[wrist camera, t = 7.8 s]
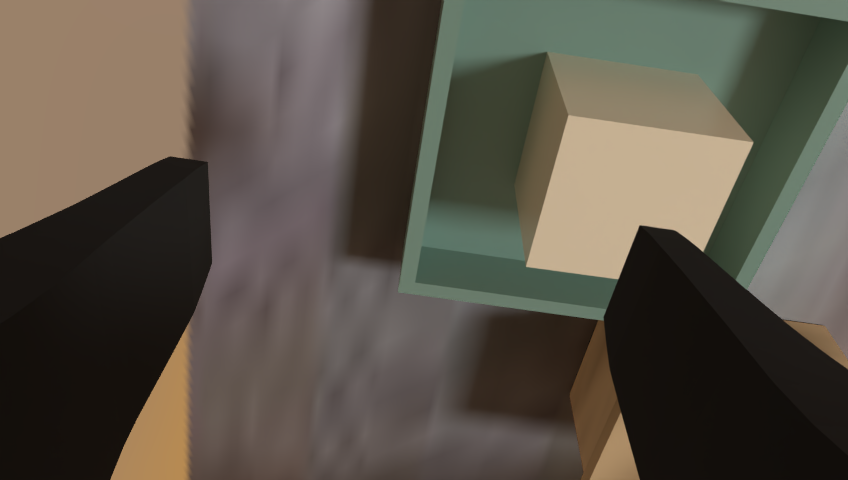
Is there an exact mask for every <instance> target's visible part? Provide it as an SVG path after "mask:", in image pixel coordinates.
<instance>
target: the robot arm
mask: <svg viewBox="0 0 848 480" xmlns="http://www.w3.org/2000/svg"><path fill="white" fill-rule="evenodd" d="M211 264H212V251H211V228H210V205H209V182H208V162H204V161H197V160H191V159H184V158H176V157H168V158H165V159H163V160H160V161H158V162H156V163H154V164H152V165H150V166H148V167H146V168H144V169H142V170H140V171H138V172H136V173H134V174H132V175H131V176H129V177H127V178H125V179H123V180H121V181H119V182H117V183H116V184H113V185H111V186H110V187H108V188H106V189H104V190H102V191H100V192H98V193H96V194H94V195H92V196H90V197H88V198H86V199H84V200H82V201H80V202H79V203H76V204H74V205H73V206H70V207H68V208H66V209H64V210H62V211H59V212H57V213H55V214H53V215H51V216H49V217H47V218H44V219H42V220H40V221H38V222H35V223H33V224H31V225H29V226H27V227H25V228H22V229H20V230H18V231H16V232H14V233H11V234H9V235H6V236H4V237H2V238H0V480H110V479H111V476H112V474H113V471H114V469H115V466H116V464H117V461H118V459H119V456H120V454H121V451H122V449H123V447H124V444H125V442H126V440H127V438H128V436H129V434H130V432H131V430H132V428H133V426H134V424H135V421H136V420H137V418H138V416H139V414H140V412H141V410H142V409H143V406H144V405H145V403H146V401H147V399H148V397H149V396H150V394H151V392H152V390H153V388H154V386H155V385H156V383H157V381H158V379H159V377H160V375H161V373H162V371H163V370H164V368H165V366H166V364H167V362H168V360H169V359H170V357H171V355H172V353H173V351H174V349H175V348H176V345H177V344H178V342H179V340H180V338H181V336H182V334H183V333H184V331H185V329H186V327H187V325H188V323H189V321H190V319H191V317H192V315H193V313H194V311H195V309H196V306H197V303H198V301H199V298H200V295H201V293H202V290H203V287H204V284H205V281H206V279H207V276H208V273H209V270H210V267H211ZM603 318H604V328H605V337H606V347H607V354H608V361H609V368H610V372H611V376H612V380H613V384H614V388H615V392H616V395H617V399H618V403H619V407H620V410H621V414H622V418H623V421H624V425H625V428H626V432H627V436H628V439H629V443H630V446H631V450H632V454H633V457H634V461H635V464H636V468H637V472H638V475H639V479H640V480H848V369H847V368H846V367H844V366H843V365H841V364H840V363H838V362H837V361H836V360H834V359H833V358H832V357H830V356H829V355H827V354H826V353H825V352H823V351H822V350H821V349H819V348H818V347H817V346H815V345H814V344H813V343H812V342H810V341H809V340H808V339H806V338H805V337H804V336H802V335H801V334H800V333H799V332H797V331H796V330H795V329H793V328H792V327H791V326H790V325H788V324H787V323H786V322H785V321H783V320H782V319H781V318H780V317H778V316H777V315H776V314H775V313H774V312H772V311H771V310H770V309H769V308H768V307H766V306H765V305H764V304H763V303H762V302H760V301H759V300H758V299H757V298H756V297H755V296H753V295H752V294H751V293H750V292H749V291H748V290H746V289H745V288H744V287H743V286H742V285H741V284H739V283H738V282H737V281H736V280H735V279H734V278H733V277H731V276H730V275H729V274H728V273H727V272H726V271H725V270H723V269H722V268H721V267H720V266H719V265H718V264H717V263H715V262H714V261H713V260H712V259H711V258H710V257H708V256H707V255H706V254H705V253H704V252H703V251H701V250H700V249H699V248H698V247H697V246H695V245H694V244H693V243H692V242H690V241H689V240H688V239H687V238H685V237H684V236H683V235H681V234H680V233H678V232H677V231H675V230H670V229H663V228H656V227H649V226H642V225H639V228H638V230H637V233H636V236H635V238H634V241H633V243H632V246H631V248H630V251H629V253H628V256H627V258H626V261H625V264H624V266H623V269H622V271H621V274H620V276H619V279H618V281H617V284H616V286H615V289H614V292H613V294H612V297H611V299H610V302H609V304H608V307H607V309H606V312H605V314H604V317H603Z"/></svg>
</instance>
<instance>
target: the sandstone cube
mask: <svg viewBox="0 0 848 480" xmlns="http://www.w3.org/2000/svg"><path fill="white" fill-rule="evenodd" d="M753 143H754V142H753V141H752V140H751V138H750V137H749V136H748V135H747V134H746V132H745V131H744V130H743V129H742V128H741V126H740V125H739V124H738V123H737V121H736V120H735V119H734V118H733V117H732V115H731V114H730V113H729V112H728V111H727V109H726V108H725V107H724V106H723V104H722V103H721V102H720V101H719V100H718V98H717V97H716V96H715V95H714V94H713V92H712V91H711V90H710V89H709V87H708V86H707V85H706V84H705V83H704V81H703V80H702V79H701V78H700V77H699V75H698V74H692V73H685V72H679V71H672V70H665V69H659V68H652V67H645V66H639V65H632V64H625V63H619V62H612V61H606V60H599V59H592V58H586V57H579V56H572V55H566V54H559V53H552V52H547V54H546V58H545V63H544V67H543V71H542V75H541V79H540V83H539V87H538V91H537V95H536V99H535V103H534V107H533V111H532V115H531V119H530V123H529V127H528V131H527V136H526V140H525V144H524V148H523V152H522V156H521V160H520V164H519V168H518V172H517V176H516V180H515V184H514V187H515V194H516V201H517V208H518V215H519V222H520V229H521V236H522V243H523V250H524V257H525V264H526V267H531V268H538V269H546V270H553V271H560V272H568V273H575V274H582V275H590V276H597V277H605V278H612V279H619V276H620V274H621V271H622V269H623V266H624V264H625V261H626V258H627V256H628V253H629V251H630V248H631V246H632V243H633V241H634V238H635V236H636V233H637V230H638V228H639V225H642V226H649V227H656V228H663V229H670V230H675V231H677V232H678V233H680V234H681V235H683V236H684V237H685V238H687V239H688V240H689V241H690V242H692V243H693V244H694V245H695V246H697V247H698V248H699V249H700V250H701V251H704V249H705V247H706V245H707V243H708V240H709V238H710V236H711V234H712V232H713V230H714V227H715V225H716V223H717V221H718V219H719V217H720V214H721V212H722V210H723V208H724V206H725V204H726V201H727V199H728V197H729V195H730V193H731V190H732V188H733V186H734V184H735V182H736V180H737V177H738V175H739V173H740V171H741V169H742V167H743V164H744V162H745V160H746V158H747V156H748V154H749V151H750V149H751V147H752V145H753Z"/></svg>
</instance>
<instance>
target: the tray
mask: <svg viewBox="0 0 848 480" xmlns="http://www.w3.org/2000/svg"><path fill="white" fill-rule="evenodd" d="M547 52H552V53H559V54H566V55H572V56H579V57H586V58H592V59H599V60H606V61H612V62H619V63H625V64H632V65H639V66H645V67H652V68H659V69H665V70H672V71H679V72H685V73H692V74H698V75H699V77H700V78H701V79H702V80H703V81H704V83H705V84H706V85H707V86H708V87H709V89H710V90H711V91H712V92H713V94H714V95H715V96H716V97H717V98H718V100H719V101H720V102H721V103H722V104H723V106H724V107H725V108H726V109H727V111H728V112H729V113H730V114H731V115H732V117H733V118H734V119H735V120H736V121H737V123H738V124H739V125H740V126H741V128H742V129H743V130H744V131H745V132H746V134H747V135H748V136H749V137H750V138H751V140H752V141H753V142H754V143H753V145H752V147H751V149H750V151H749V154H748V156H747V158H746V160H745V162H744V164H743V167H742V169H741V171H740V173H739V175H738V177H737V180H736V182H735V184H734V186H733V188H732V190H731V193H730V195H729V197H728V199H727V201H726V204H725V206H724V208H723V210H722V212H721V214H720V217H719V219H718V221H717V223H716V225H715V227H714V230H713V232H712V234H711V236H710V238H709V240H708V243H707V245H706V247H705V249H704V251H703V252H704V253H705V254H706V255H707V256H708V257H710V258H711V259H712V260H713V261H714V262H715V263H717V264H718V265H719V266H720V267H721V268H722V269H723V270H725V271H726V272H727V273H728V274H729V275H730V276H731V277H733V278H734V279H735V280H736V281H737V282H738V283H739V284H741V285H742V286H743V287H744V288H745V289H746V290H747V288H748V287H749V285H750V283H751V281H752V279H753V277H754V275H755V274H756V272H757V270H758V268H759V266H760V264H761V262H762V261H763V259H764V257H765V255H766V253H767V251H768V249H769V248H770V246H771V244H772V242H773V240H774V238H775V236H776V234H777V233H778V231H779V229H780V227H781V225H782V223H783V221H784V220H785V218H786V216H787V214H788V212H789V210H790V208H791V207H792V205H793V203H794V201H795V199H796V197H797V195H798V193H799V192H800V190H801V188H802V186H803V184H804V182H805V180H806V179H807V177H808V175H809V173H810V171H811V169H812V167H813V166H814V164H815V162H816V160H817V158H818V156H819V154H820V153H821V151H822V149H823V147H824V145H825V143H826V141H827V139H828V138H829V136H830V134H831V132H832V130H833V128H834V126H835V125H836V123H837V121H838V119H839V117H840V115H841V113H842V112H843V110H844V108H845V106H846V104H847V102H848V0H442V2H441V9H440V15H439V21H438V28H437V34H436V41H435V47H434V53H433V60H432V66H431V73H430V79H429V85H428V92H427V98H426V105H425V111H424V117H423V124H422V130H421V137H420V143H419V149H418V156H417V162H416V169H415V175H414V182H413V188H412V194H411V201H410V207H409V214H408V220H407V226H406V233H405V239H404V246H403V253H402V262H401V271H400V279H399V288H398V292H400V293H407V294H414V295H422V296H429V297H436V298H443V299H450V300H458V301H465V302H472V303H479V304H486V305H494V306H501V307H508V308H515V309H523V310H530V311H537V312H544V313H551V314H559V315H566V316H573V317H580V318H587V319H595V320H602V321H604V318H603V317H604V314H605V312H606V309H607V307H608V304H609V302H610V299H611V297H612V294H613V292H614V289H615V286H616V284H617V281H618V279H612V278H605V277H597V276H590V275H582V274H575V273H568V272H560V271H553V270H546V269H538V268H531V267H526V264H525V257H524V250H523V243H522V236H521V229H520V222H519V215H518V208H517V201H516V194H515V187H514V184H515V180H516V176H517V172H518V168H519V164H520V160H521V156H522V152H523V148H524V144H525V140H526V136H527V131H528V127H529V123H530V119H531V115H532V111H533V107H534V103H535V99H536V95H537V91H538V87H539V83H540V79H541V75H542V71H543V67H544V63H545V58H546V54H547Z"/></svg>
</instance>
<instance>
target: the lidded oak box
mask: <svg viewBox="0 0 848 480" xmlns="http://www.w3.org/2000/svg"><path fill="white" fill-rule="evenodd" d="M783 321H785V322H786V323H787V324H788V325H790V326H791V327H792V328H793V329H795V330H796V331H797V332H799V333H800V334H801V335H802V336H804V337H805V338H806V339H808V340H809V341H810V342H812V343H813V344H814V345H815V346H817V347H818V348H819V349H821V350H822V351H823V352H825V353H826V354H827V355H829V356H830V357H832V358H833V359H834V360H836V361H837V362H838V363H840V364H841V365H843V366H844V367H846V368H847V369H848V360H847V358H846V357H845V355H844V354H843V352H842V351H841V349H840V348H839V346H838V345H837V343H836V342H835V341H834V339H833V338H832V336H831V335H830V333H829V332H828V330H827V329H826V327H825V326H822V325H815V324H808V323H801V322H793V321H786V320H783ZM569 396H570V401H571V406H572V412H573V417H574V423H575V428H576V434H577V439H578V444H579V450H580V455H581V461H582V466H583V472H584V473H583V475H582V477H581V479H580V480H640V479H639V475H638V472H637V468H636V464H635V461H634V457H633V454H632V450H631V446H630V443H629V439H628V436H627V432H626V428H625V425H624V421H623V418H622V414H621V410H620V407H619V403H618V399H617V395H616V392H615V388H614V384H613V380H612V376H611V372H610V368H609V361H608V354H607V347H606V337H605V328H604V321H602V320H598V322H597V325H596V327H595V330H594V332H593V335H592V338H591V340H590V343H589V345H588V348H587V350H586V353H585V356H584V358H583V361H582V363H581V366H580V369H579V371H578V374H577V376H576V379H575V381H574V384H573V387H572V389H571V392H570V394H569Z"/></svg>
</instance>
